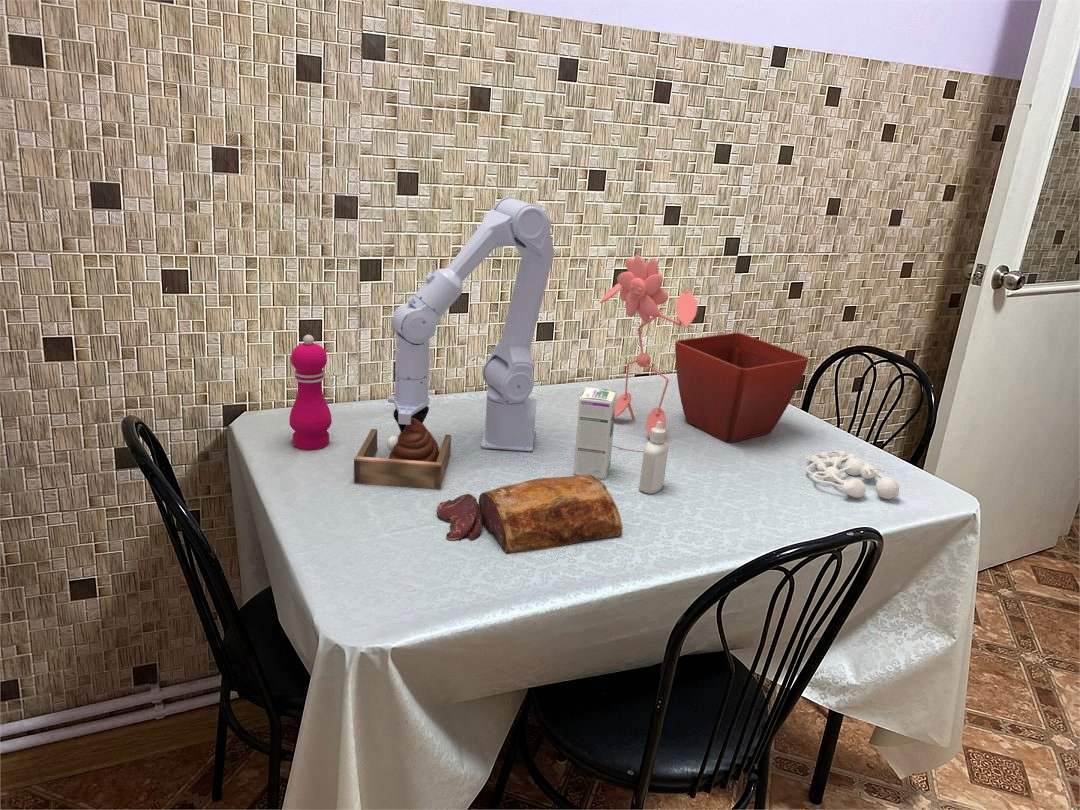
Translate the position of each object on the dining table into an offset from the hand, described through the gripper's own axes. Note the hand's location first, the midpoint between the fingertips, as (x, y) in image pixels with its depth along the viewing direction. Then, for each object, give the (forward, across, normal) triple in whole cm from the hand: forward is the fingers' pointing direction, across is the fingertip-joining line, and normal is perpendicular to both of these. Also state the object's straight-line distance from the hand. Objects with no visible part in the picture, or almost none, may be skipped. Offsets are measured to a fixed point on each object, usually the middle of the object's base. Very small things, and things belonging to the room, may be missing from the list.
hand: (410, 447), depth 149 cm
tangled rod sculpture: (+2, -2, +78) cm, 78 cm away
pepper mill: (+1, -2, -18) cm, 18 cm away
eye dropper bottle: (+1, +6, +42) cm, 43 cm away
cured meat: (+2, +22, +21) cm, 30 cm away
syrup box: (+1, +2, +32) cm, 32 cm away
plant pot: (+2, -24, +61) cm, 66 cm away
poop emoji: (+1, +5, +2) cm, 6 cm away
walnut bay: (+1, +6, 0) cm, 6 cm away
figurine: (+1, -18, +39) cm, 43 cm away
